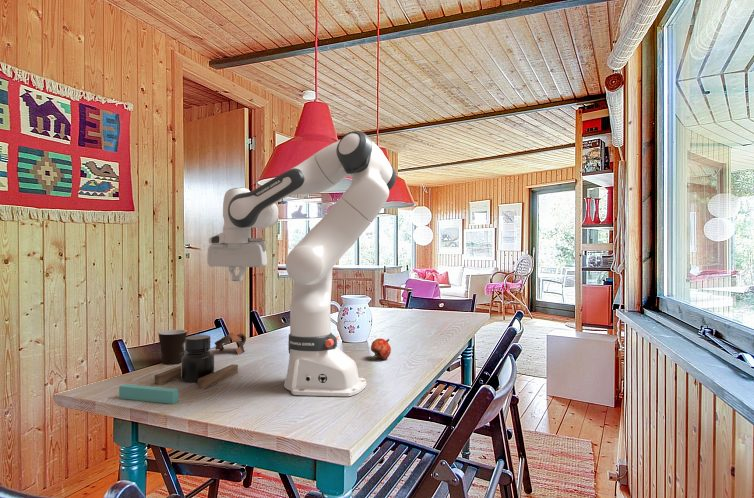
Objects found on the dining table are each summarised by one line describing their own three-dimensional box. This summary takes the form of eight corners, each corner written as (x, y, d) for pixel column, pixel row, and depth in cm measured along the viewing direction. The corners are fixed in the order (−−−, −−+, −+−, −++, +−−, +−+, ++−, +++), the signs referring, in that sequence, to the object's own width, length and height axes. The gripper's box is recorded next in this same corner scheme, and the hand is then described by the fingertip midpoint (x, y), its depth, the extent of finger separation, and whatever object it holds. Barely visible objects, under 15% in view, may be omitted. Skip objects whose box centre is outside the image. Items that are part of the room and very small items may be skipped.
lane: (237, 373, 136) (237, 364, 136) (204, 389, 121) (204, 379, 121) (192, 369, 141) (192, 361, 141) (154, 384, 125) (154, 375, 125)
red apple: (380, 369, 149) (401, 348, 152) (366, 352, 148) (388, 332, 151) (372, 366, 156) (392, 346, 159) (359, 350, 155) (379, 330, 158)
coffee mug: (176, 366, 144) (176, 335, 144) (152, 364, 146) (152, 334, 146) (197, 357, 155) (197, 328, 155) (175, 356, 157) (175, 327, 157)
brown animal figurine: (234, 358, 157) (222, 338, 156) (218, 367, 161) (206, 347, 161) (256, 343, 167) (245, 324, 167) (240, 351, 172) (229, 333, 172)
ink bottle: (200, 372, 137) (200, 333, 137) (221, 376, 133) (221, 335, 133) (173, 380, 129) (173, 338, 129) (194, 385, 124) (194, 341, 124)
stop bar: (178, 401, 111) (178, 389, 111) (172, 404, 109) (172, 391, 109) (125, 395, 116) (125, 383, 116) (119, 398, 114) (119, 386, 114)
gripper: (270, 238, 147) (270, 280, 147) (216, 238, 152) (216, 279, 152) (260, 237, 141) (260, 282, 141) (204, 238, 146) (204, 281, 146)
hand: (237, 280), depth 147 cm, fingers closed
